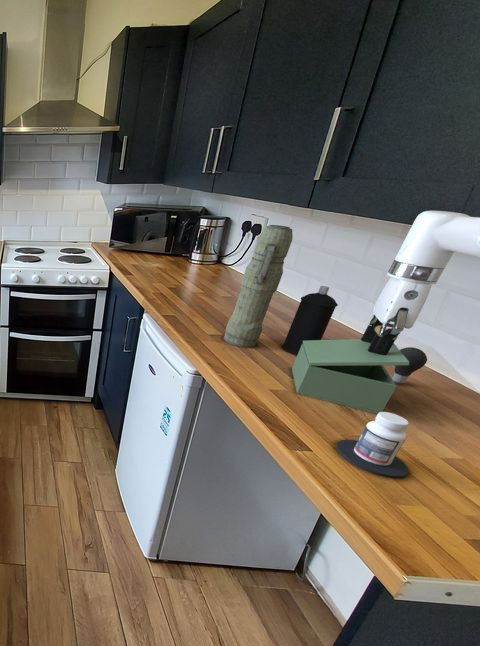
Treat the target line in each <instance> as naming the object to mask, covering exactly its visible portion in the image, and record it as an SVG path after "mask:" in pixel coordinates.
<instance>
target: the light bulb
mask: <svg viewBox="0 0 480 646" xmlns="http://www.w3.org/2000/svg"><path fill="white" fill-rule="evenodd" d="M399 350H400V351H401V353H402V354H403V355H404V356H405V357H406V359H407V360H408V361H409V365H394V373H393V374H392V376H391V378H392V380H393V381H394V383H395V384H396V385H399V384H405V383H406V381H407V380H408V378H409V377H410V376H411V375H412V374H413V373H415V372H416V371H418V370H420V369H422V368H423V367H424V366H425V365H426V364H427V362H428V356H427V354H426V353H425V352H424V351H423V350H422V349H420V348H417V347H411V346H409V347H403V348H400V349H399Z"/></svg>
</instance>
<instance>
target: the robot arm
mask: <svg viewBox="0 0 480 646" xmlns="http://www.w3.org/2000/svg"><path fill="white" fill-rule="evenodd" d="M454 253H457V254H462V255H465V256H470V257H474V258H478V259H480V217H479V216H470V215H468V214H466V213H461V212H454V211H444V210H425V211H422V212H421V213H419V214H418V215H417V216H416V218H415V219H414V221H413V223H412V225H411V227H410V229H409V231H408V232H407V235H406V237H405V239H404V240H403V242H402V244H401V247H400V248H399V250H398V252H397V254H396V256H395V258H394V260H393V262H392V264H391V265H390V267H389V269H388V271H387V273H386V276H388V277H390V278H389V279H388V281H387V282H386V284H385V286H384V287H383V289H382V291H381V292H380V294H379V296H378V298H377V300H376V301H375V304H374V306H373V309H372V314H373V315H372V316H373V317H372V318H371V319H370V321H369V324H368V325H367V327H366V329H365V330H364V332H363V335H362V336H361V338H360V339H361V341H363V342H367V343H371V344H370V346H369V348H368V351H369V352H371V353H376V354H380V355H387V354H388V352H389V350H390V349H391V347H392V345H393V343H394V344H395V342H396V340H397V339H398V337H399V335H400V334H401V333H402V332H403V331H404V329H406V330H410V329H411V328H413V327H414V325H415V323H416V321H417V319H418V317H419V316H420V313H421V312H422V309H423V308H424V305H425V304H426V302H427V299H428V297H429V294H430V292H431V288H432V285H436V284H437V282H438V281H439V279H440V277H441V276H442V274H443V272H444V270H445V269H446V267H447V265H448V264H449V262H450V260H451V258H452V257H453V255H454ZM377 326H381V328H380V331H379V334H377V333H376V331H375V327H377ZM387 327H388V328H387ZM386 329H387V330H386ZM385 330H386V331H385Z"/></svg>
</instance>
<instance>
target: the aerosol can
mask: <svg viewBox="0 0 480 646" xmlns="http://www.w3.org/2000/svg"><path fill="white" fill-rule="evenodd" d="M329 290H330V287H329V286H326V285H320V286H319V289H318V291H317V292H312V293H308V294H305V295H303V296H301V297H300V302H299V305H298V307H297V309H296V311H295V315H294V317H293V319H292V322H291V324H290V326H289V330H288V331H287V335H286V337H285V339H284V341H283V344H282V345H281V350H283V351H285V352H287V353H289V354H292V355H294V356H297V355H298V353H299V350H300V348H301V345H302V344H303V341H310V340H323V337H324V334H325V332H326V330H327V328H328V325H329V323H330V322H331V319H332V317H333V314H334V312H335V309H336V308H337V307H338V306H339V304H338V303H337V301H336V300H335V298H333V296H331V295H329V294H328V292H329Z"/></svg>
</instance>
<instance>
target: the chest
mask: <svg viewBox="0 0 480 646" xmlns="http://www.w3.org/2000/svg"><path fill="white" fill-rule="evenodd" d="M291 371H292V376H293V377H292V378H293V382H294V386H295V391H296V394H298V395H303V396H306V397H310V398H314V399H318V400H322V401H326V402H329V403H334V404H338V405H341V406H343V407H344V406H345V407H349V408H352V409H356V410H359V411H360V410H361V411H365V412H368V413H371V414H375V415H378V413H379V412H384V410H385V408H386V406H387V404H388V402H389V401H390V399H391V397H392V396H393V394H394V392H395V390H396V388H397V383H394V381H393V380H392V376H391V375H390V374H389V372H388V371H387V370H386V368H385V365H349V366H310V365H309V361H308V358H307V355H306V352H305V348H304V345H303V344H302V345H301V348H300V350H299V353H298V355H296V357H295V360H294V362H293V364H292V367H291Z"/></svg>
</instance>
